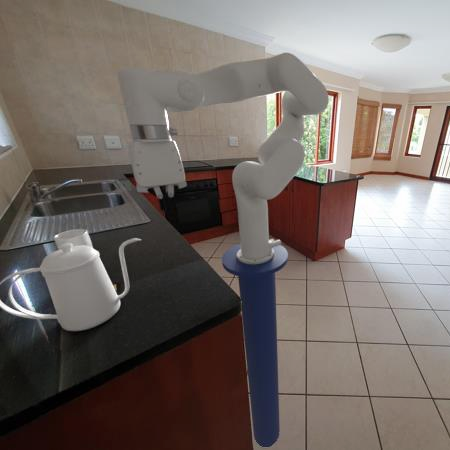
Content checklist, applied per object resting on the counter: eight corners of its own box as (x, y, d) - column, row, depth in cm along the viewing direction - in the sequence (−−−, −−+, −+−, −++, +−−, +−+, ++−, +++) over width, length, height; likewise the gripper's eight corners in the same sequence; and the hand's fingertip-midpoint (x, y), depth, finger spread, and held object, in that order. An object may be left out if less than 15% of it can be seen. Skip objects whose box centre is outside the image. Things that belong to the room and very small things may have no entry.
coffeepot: (158, 306, 59) (141, 238, 52) (11, 358, 45) (-41, 276, 38) (153, 284, 67) (137, 223, 60) (26, 323, 53) (-14, 249, 46)
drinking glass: (71, 281, 68) (51, 233, 62) (101, 271, 73) (85, 226, 67) (75, 291, 64) (54, 241, 58) (106, 280, 69) (89, 233, 63)
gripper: (183, 133, 59) (194, 203, 66) (109, 134, 51) (131, 214, 58) (191, 134, 54) (203, 210, 61) (110, 135, 45) (134, 223, 52)
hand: (168, 212), depth 59 cm, fingers closed
